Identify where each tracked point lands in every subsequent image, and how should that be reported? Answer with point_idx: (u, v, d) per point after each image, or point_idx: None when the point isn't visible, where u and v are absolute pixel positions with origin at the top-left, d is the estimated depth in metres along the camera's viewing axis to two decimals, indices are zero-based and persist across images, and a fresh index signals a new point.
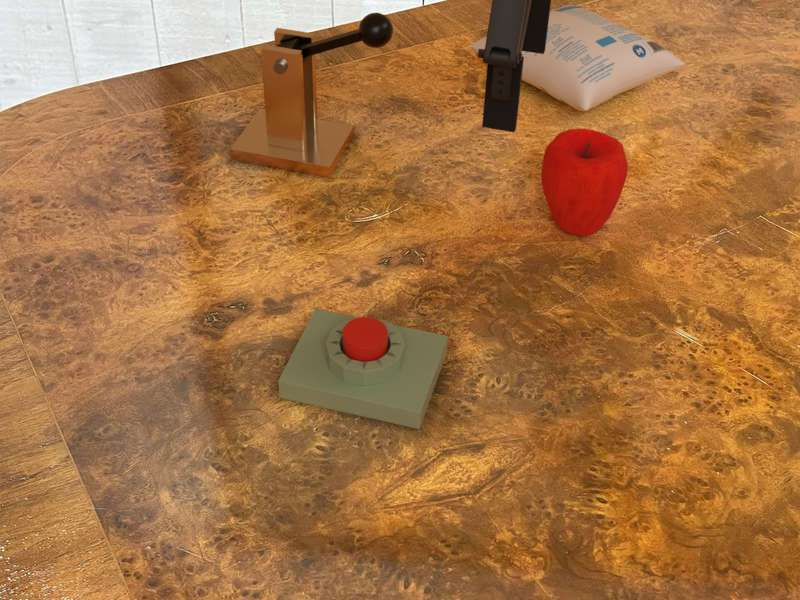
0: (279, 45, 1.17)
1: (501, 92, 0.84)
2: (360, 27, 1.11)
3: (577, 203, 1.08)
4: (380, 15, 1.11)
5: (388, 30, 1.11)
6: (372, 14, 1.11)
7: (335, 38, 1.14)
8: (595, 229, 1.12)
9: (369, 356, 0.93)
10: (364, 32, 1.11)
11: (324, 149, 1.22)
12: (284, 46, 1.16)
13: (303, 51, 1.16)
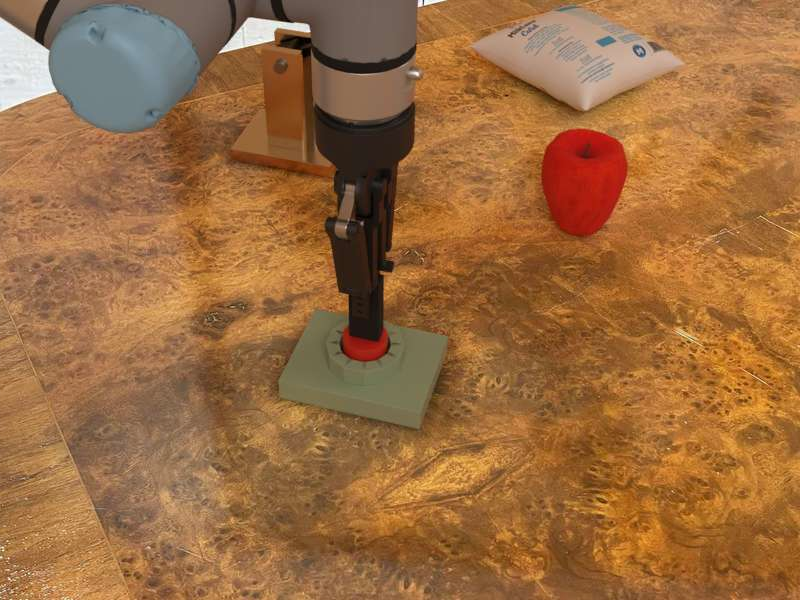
0: (279, 45, 1.17)
1: (361, 312, 0.90)
2: None
3: (577, 203, 1.08)
4: None
5: None
6: None
7: None
8: (595, 229, 1.12)
9: (369, 359, 0.94)
10: None
11: None
12: (284, 46, 1.16)
13: (303, 51, 1.16)
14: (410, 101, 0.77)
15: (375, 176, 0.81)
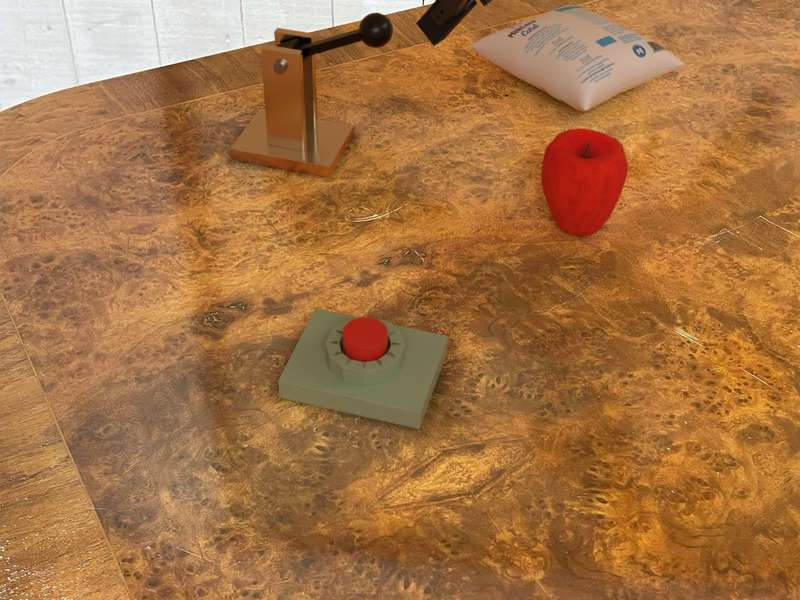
0: (279, 45, 1.17)
1: (438, 18, 0.96)
2: (360, 27, 1.11)
3: (577, 203, 1.08)
4: (380, 15, 1.11)
5: (388, 30, 1.11)
6: (372, 14, 1.11)
7: (335, 38, 1.14)
8: (595, 229, 1.12)
9: (369, 356, 0.93)
10: (364, 32, 1.11)
11: (324, 149, 1.22)
12: (284, 46, 1.16)
13: (303, 51, 1.16)
14: None
15: None
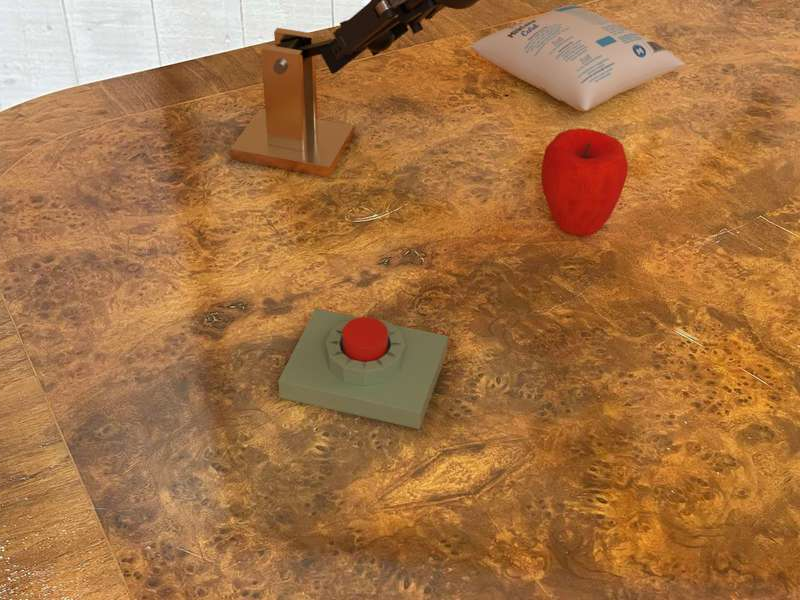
0: (279, 45, 1.17)
1: (337, 52, 1.10)
2: None
3: (577, 203, 1.08)
4: None
5: (390, 35, 1.11)
6: None
7: None
8: (595, 229, 1.12)
9: (369, 356, 0.93)
10: None
11: (324, 149, 1.22)
12: (284, 46, 1.16)
13: (303, 52, 1.16)
14: None
15: None
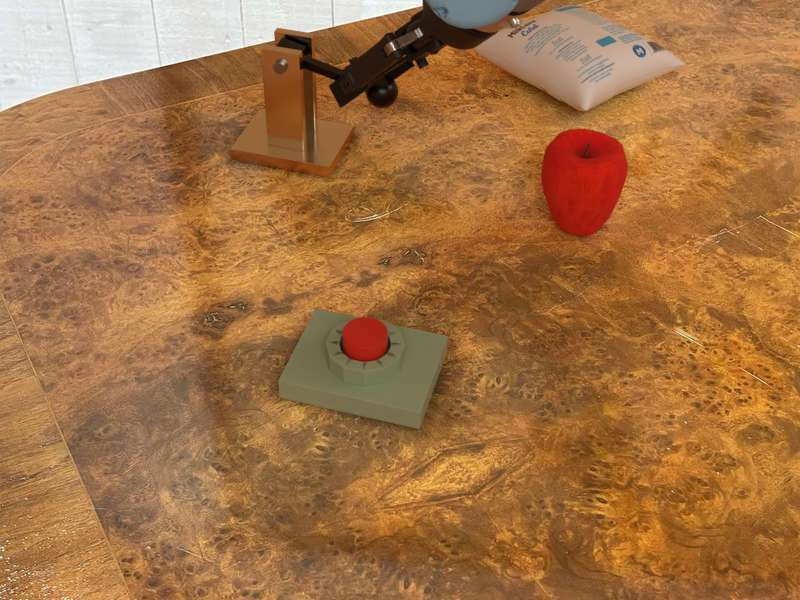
0: (285, 41, 1.17)
1: (345, 87, 1.13)
2: None
3: (577, 203, 1.08)
4: (394, 84, 1.16)
5: (393, 101, 1.16)
6: (389, 79, 1.16)
7: (342, 74, 1.16)
8: (595, 229, 1.12)
9: (369, 356, 0.93)
10: (374, 91, 1.15)
11: (324, 149, 1.22)
12: (291, 47, 1.16)
13: (306, 63, 1.17)
14: (496, 30, 0.99)
15: None
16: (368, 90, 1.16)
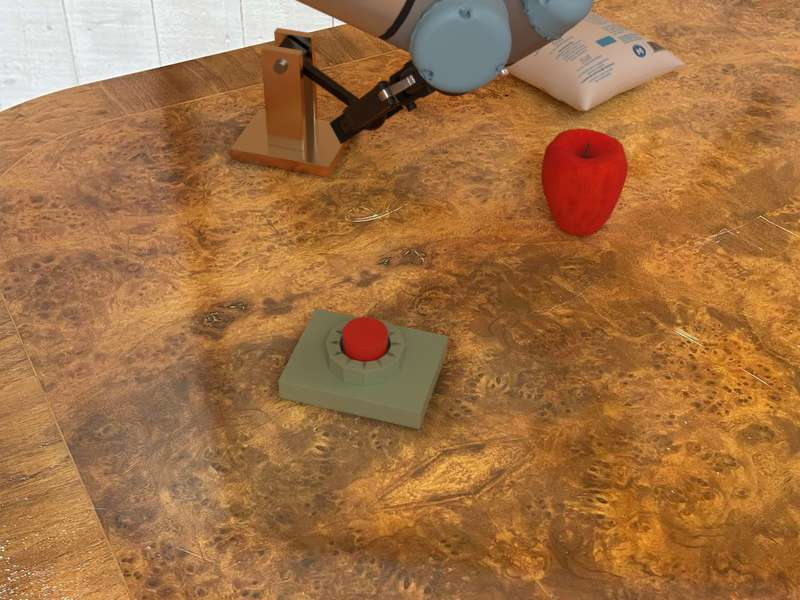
0: (289, 41, 1.17)
1: (345, 126, 1.17)
2: None
3: (577, 203, 1.08)
4: None
5: (379, 127, 1.19)
6: None
7: (337, 88, 1.18)
8: (595, 229, 1.12)
9: (369, 356, 0.93)
10: None
11: (324, 149, 1.22)
12: None
13: (304, 69, 1.17)
14: None
15: None
16: None
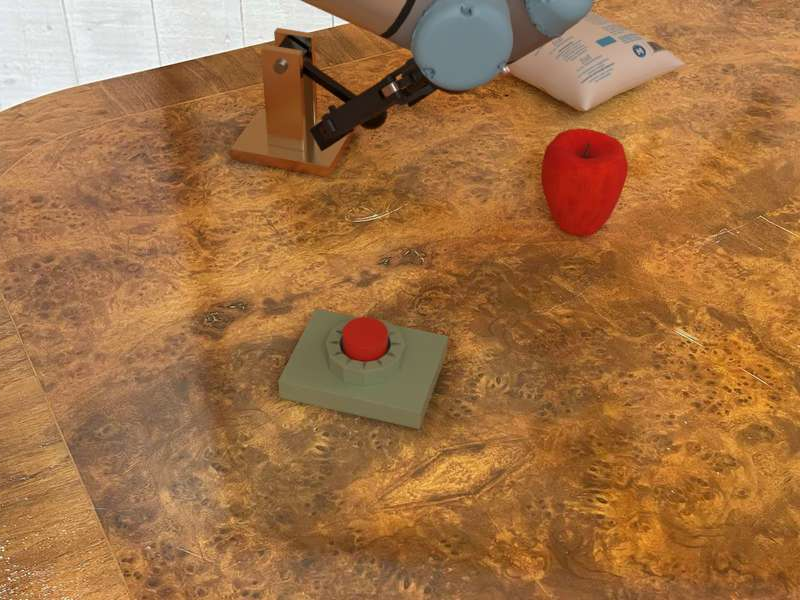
0: (289, 41, 1.17)
1: (325, 133, 1.13)
2: None
3: (577, 203, 1.08)
4: (386, 110, 1.18)
5: (380, 126, 1.19)
6: None
7: (338, 87, 1.18)
8: (595, 229, 1.12)
9: (369, 356, 0.93)
10: None
11: None
12: None
13: (304, 68, 1.17)
14: None
15: None
16: None
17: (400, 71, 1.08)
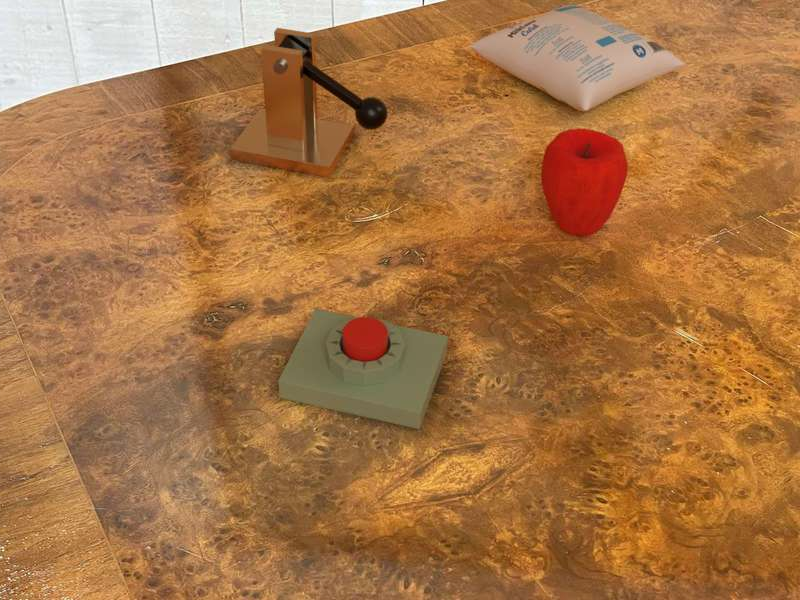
0: (289, 41, 1.17)
1: None
2: (366, 105, 1.17)
3: (577, 203, 1.08)
4: (386, 110, 1.18)
5: (380, 126, 1.19)
6: (381, 105, 1.18)
7: (338, 87, 1.18)
8: (595, 229, 1.12)
9: (369, 356, 0.93)
10: (366, 113, 1.17)
11: (324, 149, 1.22)
12: None
13: (304, 68, 1.17)
14: None
15: None
16: (359, 110, 1.18)
17: None
